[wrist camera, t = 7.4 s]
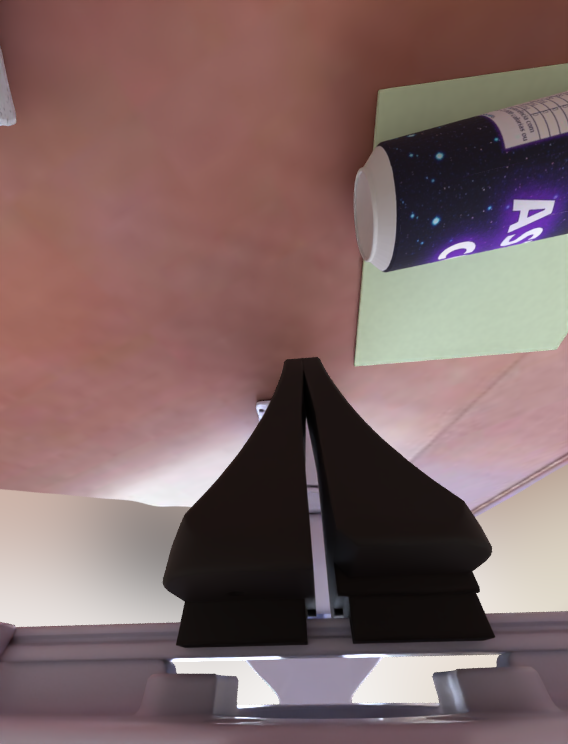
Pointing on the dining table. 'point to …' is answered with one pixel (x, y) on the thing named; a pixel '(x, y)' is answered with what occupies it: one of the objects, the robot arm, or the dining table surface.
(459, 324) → the mat
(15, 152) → the dining table surface
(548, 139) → the beverage can
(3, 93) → the white cylinder
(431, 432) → the dining table surface
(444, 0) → the dining table surface
